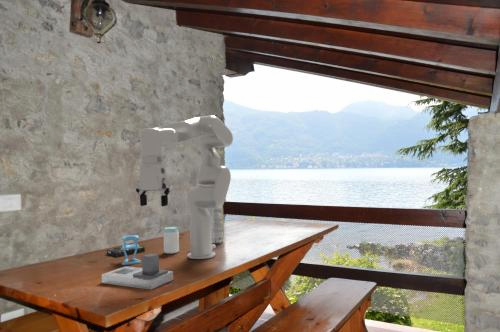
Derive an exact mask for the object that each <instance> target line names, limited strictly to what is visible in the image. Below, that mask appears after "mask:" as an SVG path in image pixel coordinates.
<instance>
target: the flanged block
mask: <svg viewBox="0 0 500 332" xmlns="http://www.w3.org/2000/svg"><path fill="white" fill-rule="evenodd" d="M159 261H160V257H159V254H158V253H146V254H145V255H142V256H141V264H142V265H141V266H142V267H141V268H142V271H140V272H138V273H135V274H133V277H141V278H149V279H154V278H156V277H159V276H161V275H163V274H166V273H168V271H169V270H168V269H160V263H159Z"/></svg>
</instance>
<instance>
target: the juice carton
mask: <svg viewBox="0 0 500 332" xmlns="http://www.w3.org/2000/svg"><path fill="white" fill-rule="evenodd" d="M207 209H208V211H209V213H210V215H211V236H212V244H221V243H223V241H224V235H225V231H224V230H225V229H224V227H225V226H224V220H225V219H224V204H223V205H222V206H221V207H219V208H207Z"/></svg>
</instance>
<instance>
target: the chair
mask: <svg viewBox="0 0 500 332" xmlns="http://www.w3.org/2000/svg"><path fill="white" fill-rule="evenodd" d="M139 239H140V237H139V235H138V234H135V235H134V234H133V235H131V234H130V235H127V236H126V235H123V236H122V237H121V240H122V241H123V244H122V246H121V247H123V251H124V254H125V256H124V257H125V259H124V260H123V261H122V262H121V265H122V266H126V265H127V266H129V265H135V264H136V265H137V264H142V260H140V259H138V258H136V254H137V253H136V252H137V249H138V248H139V246H140V245H139V244H138V242H139ZM129 241H134V243H133V244H127V242H129ZM132 248H135V252H134V254H132V258H131V260H132V261H129V257H128V255H127V254H126V251H125V249H132Z"/></svg>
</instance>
